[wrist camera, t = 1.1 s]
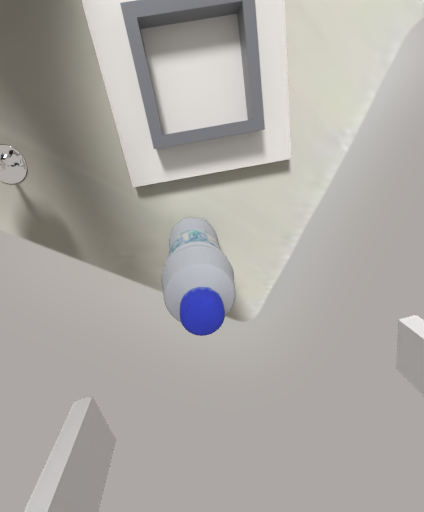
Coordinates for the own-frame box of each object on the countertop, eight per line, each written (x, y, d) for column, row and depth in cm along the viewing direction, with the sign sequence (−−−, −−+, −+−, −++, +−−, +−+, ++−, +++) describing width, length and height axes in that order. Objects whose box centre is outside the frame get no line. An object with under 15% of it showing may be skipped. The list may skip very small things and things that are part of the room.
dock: (79, -20, 26) (61, -48, 22) (276, -50, 26) (292, -82, 23) (134, 185, 33) (129, 190, 30) (286, 158, 34) (299, 159, 30)
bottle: (221, 250, 38) (257, 345, 20) (176, 263, 38) (171, 369, 20) (210, 206, 35) (239, 267, 17) (162, 219, 35) (140, 294, 17)
